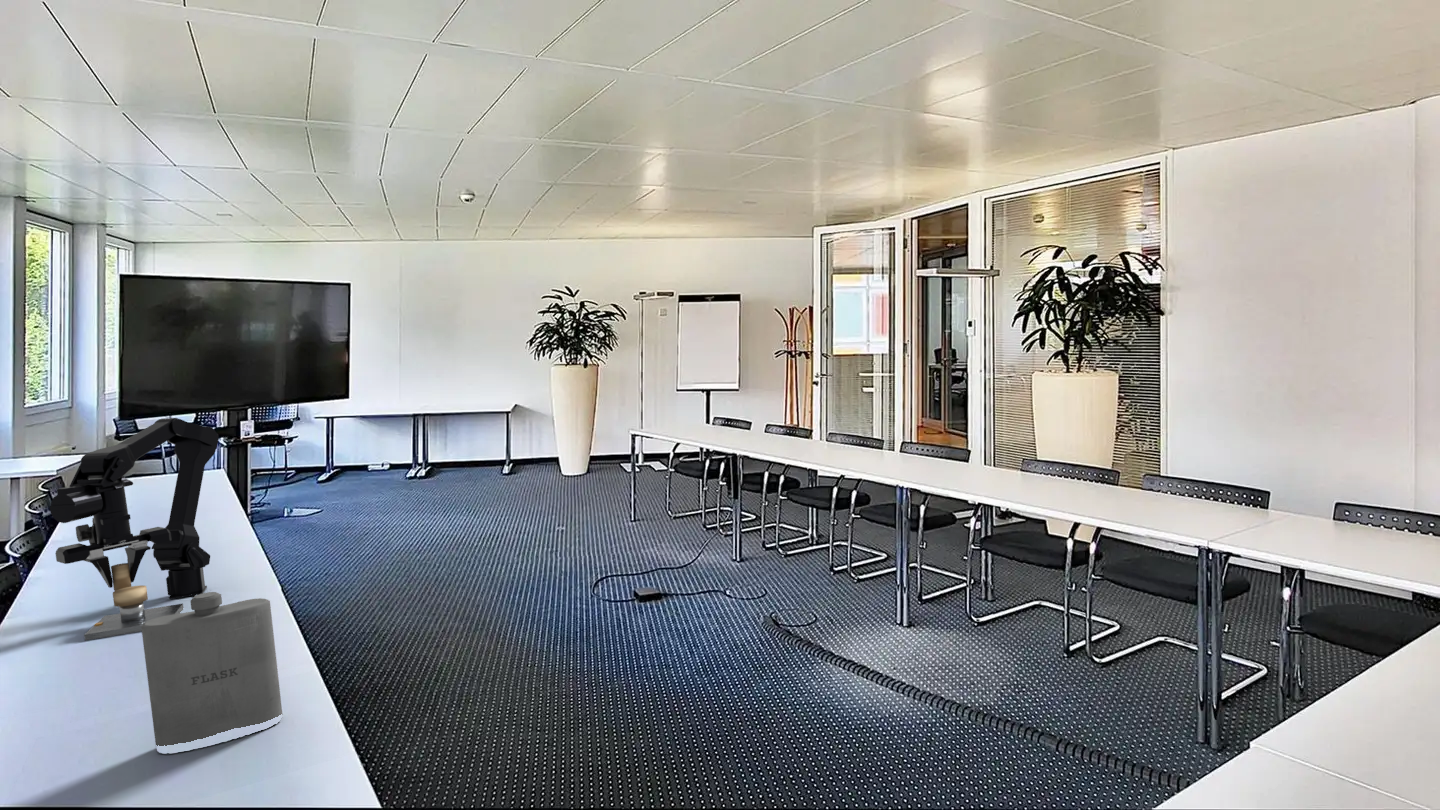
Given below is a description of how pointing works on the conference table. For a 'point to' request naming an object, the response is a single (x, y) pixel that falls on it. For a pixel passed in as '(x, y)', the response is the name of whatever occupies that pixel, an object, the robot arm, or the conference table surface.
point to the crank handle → (126, 587)
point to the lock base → (128, 626)
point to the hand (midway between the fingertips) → (121, 584)
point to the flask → (211, 669)
